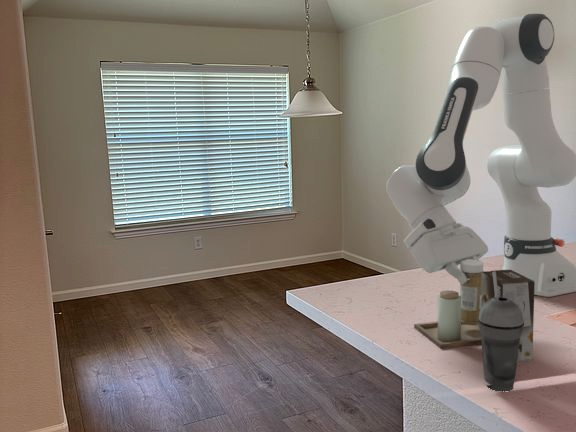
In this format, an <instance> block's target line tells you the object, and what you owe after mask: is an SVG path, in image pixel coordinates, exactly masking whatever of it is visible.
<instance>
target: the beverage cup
mask: <svg viewBox="0 0 576 432" xmlns="http://www.w3.org/2000/svg"><path fill="white" fill-rule="evenodd" d="M493 271H494V272H493V282H494V291H495V298H492V299H489V300H488V301H487V302H485V303H484V304H483V306H482V307H481V310H480V313H479V317H478V322H479V329H480V332H481V341H482V345H481V353H482V364H483V376H484V381H485V382H486V383H488V385H486V386H487V387H488V389H489V388H490V389H489V390H491V389H492V390H491V391H493V390H495V391H494V392H497V391H502V392H501V393H506V392H505V391H509V392H511V391H510V390H512V389H513V390H514V385H515V381H516V374H517V366H518V362H517V359H518V351H519V343H520V337H521V335H522V331H523V326H524V321H523V316H522V312H521V310H520V308H519V307H518V306H517V304H515V303H514V302H513V301H512V300H510V299H508V298H505V297H498V289H497V280H496V272H495V270H493ZM487 387H486V388H487ZM513 390H512V391H513ZM503 391H504V392H503Z"/></svg>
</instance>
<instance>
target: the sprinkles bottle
mask: <svg viewBox="0 0 576 432" xmlns="http://www.w3.org/2000/svg"><path fill="white" fill-rule="evenodd" d="M459 269H460V270H461V271H462V272H463V273H465V272H466V273H467V275H468V276H469V277H470V280H469V281H468V282H467V283H465V284H460V283H459V286H460V287H459V288H460V289H459V296H461V323H463V324H466V325H478V324H479V322H478V317H479V313H480V310H481V306H482V272H483V271H484V262H483V261H481V260H480V259H479V260H473V259H467V260H462V261H461V264H460V266H459Z"/></svg>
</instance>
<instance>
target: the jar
mask: <svg viewBox="0 0 576 432" xmlns="http://www.w3.org/2000/svg"><path fill="white" fill-rule="evenodd" d="M437 321H438V340H439V341H441V342H453V341H461V296H460V292H458V291H456V290H441V291H440V292H439V294H438V295H437Z"/></svg>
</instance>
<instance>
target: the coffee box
mask: <svg viewBox="0 0 576 432" xmlns="http://www.w3.org/2000/svg"><path fill="white" fill-rule="evenodd" d="M494 271H495V272H496V280H497V289H498V297H505V298H508V299H510V300H512V301H513V302H514V303H515V304H517V306H518V307H519V308H520V310H521V312H522V316H523V321H524V326H523V331H522V335H521V337H520V343H519V351H518V359H517V363H518V362H526V361H532V360H533V358H534V356H533V355H534V353H533V351H534V349H533V348H534V322H535V320H534V319H535V317H534V314H535V312H534V311H535V310H534V309H535V295H534V286H535V281H533V280H531V279H529V278H527V277H525V276H523V275H521V274H519V273H517V272H514V271H512V270H503V269H499V270H497V269H495V270H489V271H487V270H486V271H484V272H482V306H483V304H484V303H485V302H487V301H488V300H489V299H492V298H495V291H494V282H493V272H494ZM482 306H481V307H482ZM480 345H481V346H482V341H481V344H480Z"/></svg>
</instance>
